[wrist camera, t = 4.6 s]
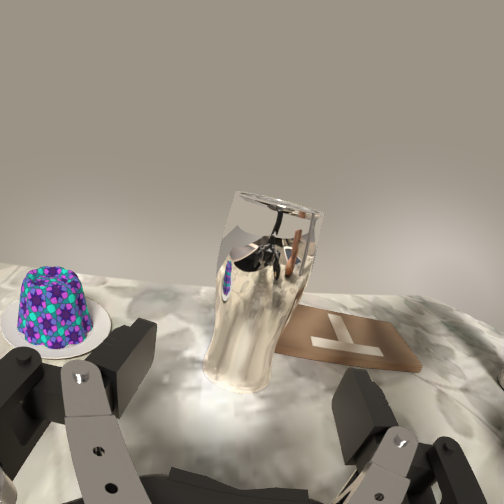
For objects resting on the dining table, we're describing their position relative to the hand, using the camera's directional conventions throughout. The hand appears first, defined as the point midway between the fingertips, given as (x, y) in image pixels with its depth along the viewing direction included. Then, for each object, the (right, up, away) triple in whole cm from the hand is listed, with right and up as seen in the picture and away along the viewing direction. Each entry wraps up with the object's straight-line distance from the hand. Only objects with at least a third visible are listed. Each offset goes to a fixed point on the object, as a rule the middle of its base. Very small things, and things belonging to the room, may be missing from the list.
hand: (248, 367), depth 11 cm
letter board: (+11, -6, +23) cm, 27 cm away
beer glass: (-1, -6, +13) cm, 15 cm away
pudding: (-19, -3, +11) cm, 22 cm away
